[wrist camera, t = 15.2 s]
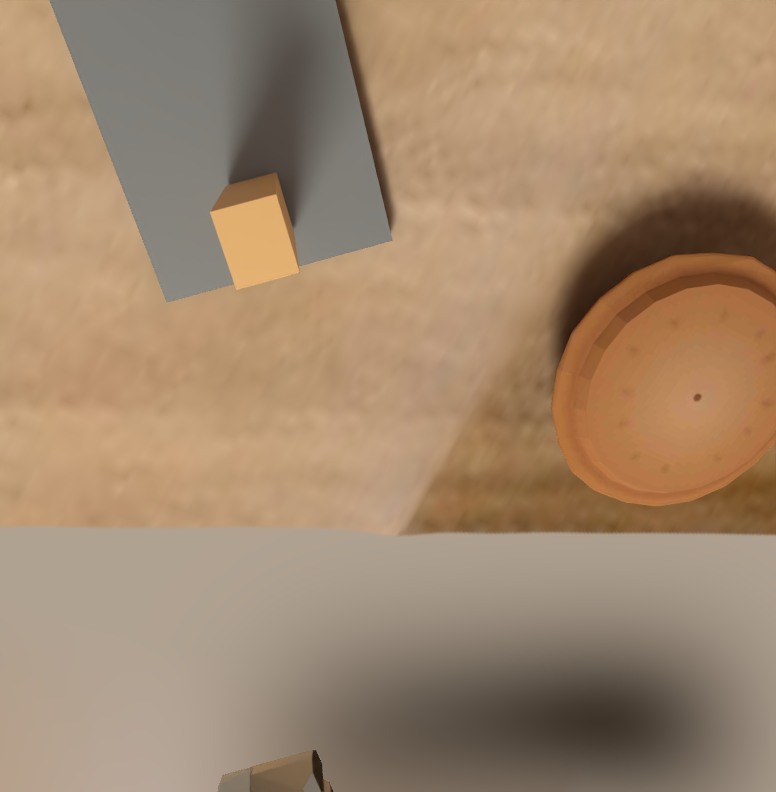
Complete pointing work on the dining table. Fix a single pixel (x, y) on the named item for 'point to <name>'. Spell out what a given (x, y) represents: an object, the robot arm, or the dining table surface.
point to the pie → (671, 380)
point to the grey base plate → (227, 122)
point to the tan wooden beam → (255, 231)
